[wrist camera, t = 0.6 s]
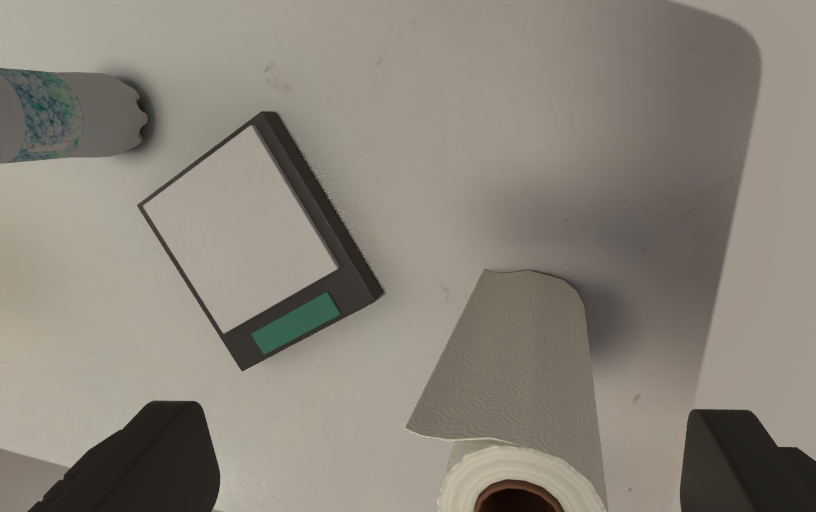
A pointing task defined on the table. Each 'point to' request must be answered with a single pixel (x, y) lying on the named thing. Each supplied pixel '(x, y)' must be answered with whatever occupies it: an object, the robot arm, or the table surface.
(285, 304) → the scale
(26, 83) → the bottle
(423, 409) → the paper towel roll
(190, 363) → the table surface
